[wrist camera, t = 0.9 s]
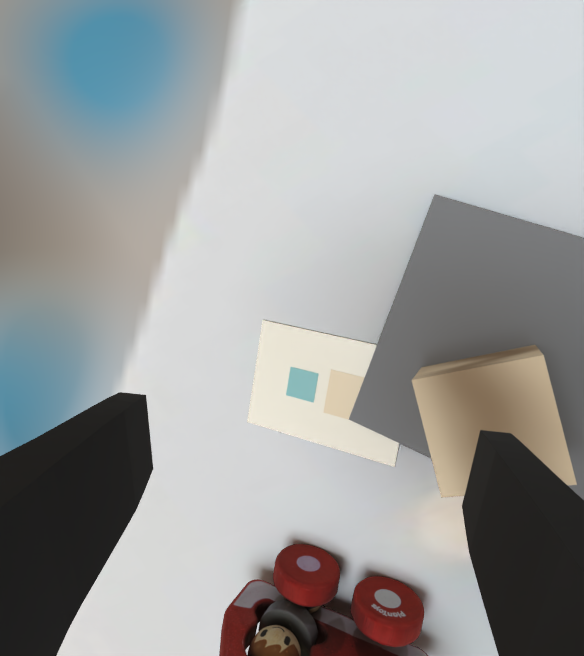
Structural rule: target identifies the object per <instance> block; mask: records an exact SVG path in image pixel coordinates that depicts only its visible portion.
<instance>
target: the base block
mask: <svg viewBox="0 0 584 656" xmlns="http://www.w3.org/2000/svg"><path fill="white" fill-rule="evenodd" d="M412 384H413V388H414V391H415V395H416V399H417V403H418V407H419V411H420V415H421V419H422V423H423V427H424V431H425V435H426V439H427V443H428V447H429V451H430V454H431V458H432V462H433V466H434V470H435V474H436V478H437V482H438V486H439V490H440V494H441V498H443V497H454V496H464V495H465V492H466V488H467V483H468V479H469V475H470V471H471V467H472V462H473V458H474V454H475V450H476V446H477V442H478V437H479V433H480V430H486V431H495V432H505V433H511V434H513V435H514V436H515V437H516V438H517V439H518V440H519V441H521V442H522V443H523V444H524V445H525V446H526V447H527V448H528V449H529V450H530V451H531V452H532V453H533V454H535V455H536V456H537V457H538V458H539V459H540V460H541V461H542V462H543V463H544V464H545V465H546V466H547V467H548V468H549V469H550V470H551V471H553V472H554V473H555V474H556V475H557V476H558V477H559V478H560V479H561V480H562V481H563V482H564V483H565V484H566V485H568V486H569V485H577V483H576V479H575V475H574V471H573V467H572V464H571V460H570V456H569V452H568V448H567V444H566V440H565V436H564V432H563V428H562V425H561V421H560V417H559V413H558V409H557V405H556V401H555V397H554V393H553V389H552V386H551V382H550V378H549V374H548V370H547V366H546V362H545V358H544V355H543V354H542V352H541V351H540V350H539V349H538V348H537V346H536V345H531V346H526V347H521V348H516V349H511V350H506V351H501V352H496V353H491V354H486V355H481V356H476V357H471V358H466V359H461V360H456V361H451V362H446V363H441V364H436V365H431V366H426V367H421V369H420V370H419V371H418V373H417V374H416V375H415V376H414V378H413V379H412Z"/></svg>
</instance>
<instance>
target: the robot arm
mask: <svg viewBox="0 0 584 656" xmlns="http://www.w3.org/2000/svg"><path fill="white" fill-rule="evenodd" d="M152 470H153V463H152V452H151V442H150V432H149V422H148V411H147V401H146V395H140V394H130V393H121V392H120V393H117V394H115V395H113V396H111V397H109V398H107V399H105V400H103V401H102V402H100V403H98V404H96V405H94V406H92V407H90V408H89V409H87V410H85V411H83V412H82V413H80V414H78V415H76V416H75V417H73V418H71V419H69V420H68V421H66V422H64V423H62V424H60V425H58V426H57V427H55V428H53V429H51V430H49V431H48V432H46V433H44V434H43V435H40V436H39V437H37V438H35V439H33V440H31V441H29V442H27V443H26V444H23V445H22V446H19V447H17V448H15V449H13V450H12V451H10V452H8V453H6V454H4V455H2V456H0V656H56V655H57V653H58V651H59V648H60V646H61V644H62V642H63V640H64V638H65V635H66V633H67V631H68V629H69V627H70V625H71V623H72V621H73V620H74V618H75V616H76V614H77V612H78V610H79V608H80V606H81V604H82V603H83V601H84V599H85V598H86V596H87V594H88V592H89V591H90V589H91V587H92V586H93V584H94V582H95V580H96V579H97V577H98V575H99V574H100V572H101V570H102V568H103V567H104V565H105V563H106V562H107V560H108V558H109V556H110V555H111V553H112V551H113V550H114V548H115V546H116V544H117V543H118V541H119V539H120V537H121V536H122V534H123V532H124V530H125V529H126V527H127V525H128V523H129V522H130V520H131V518H132V516H133V514H134V513H135V511H136V509H137V507H138V504H139V502H140V500H141V497H142V495H143V493H144V490H145V488H146V485H147V483H148V480H149V478H150V475H151V473H152ZM462 508H463V515H464V522H465V529H466V535H467V541H468V547H469V553H470V557H471V560H472V564H473V568H474V571H475V575H476V578H477V582H478V585H479V589H480V592H481V596H482V599H483V603H484V606H485V610H486V613H487V617H488V620H489V623H490V627H491V630H492V634H493V637H494V641H495V644H496V648H497V651H498V654H499V656H584V500H583V499H582V498H581V497H580V496H578V495H577V494H576V493H575V492H574V491H573V490H572V489H571V488H570V487H569V486H568V485H566V484H565V483H564V482H563V481H562V480H561V479H560V478H559V477H558V476H557V475H556V474H555V473H554V472H553V471H551V470H550V469H549V468H548V467H547V466H546V465H545V464H544V463H543V462H542V461H541V460H540V459H539V458H538V457H537V456H536V455H535V454H533V453H532V452H531V451H530V450H529V449H528V448H527V447H526V446H525V445H524V444H523V443H522V442H521V441H519V440H518V439H517V438H516V437H515V436H514V435H513V434H511V433H505V432H495V431H486V430H480V433H479V437H478V442H477V446H476V450H475V454H474V458H473V462H472V467H471V471H470V475H469V479H468V483H467V488H466V492H465V496H464V500H463V504H462Z"/></svg>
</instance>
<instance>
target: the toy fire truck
mask: <svg viewBox="0 0 584 656" xmlns="http://www.w3.org/2000/svg"><path fill="white" fill-rule="evenodd" d="M339 579H340V570H339V566H338V563H337V562H336V561H335V559H334V558H333V557H332V556H331V555H330V554H329V553H327V552H326V551H324V550H322V549H320V548H318V547H315V546H311V545H305V544H294V545H291V546H288V547H286V548H284V549H283V550H282V551H281V552H280V553H279V554H278V556H277V558H276V561H275V567H274V573H273V580H274V584H275V585H272V584H270V583H268V582H266V581H263V580H252V581H250V582H248V583H247V584H246V586H245V587H244V588H243V589H242V590H241V592H240V593H239V594H238V595H237V597H236V598H235V599H234V600H233V602H232V603H231V604H230V605H229V607H228V608H227V610H226V611H225V614H224V619H223V624H222V631H221V643H220V655H219V656H428V655H427V654H426V653H425V652H424V651H423V650H421V649H420V648H418V647H416V646H413V645H411V644H410V643H412V642H414V641H415V640H416V639H417V638H418V637H419V635H420V632H421V628H422V623H423V618H424V607H423V604H422V602H421V600H420V598H419V597H418V596H417V594H416V593H415V592H414V591H413V590H412V589H410V588H409V587H408V586H406V585H404V584H403V583H401V582H399V581H397V580H394V579H390V578H387V577H381V576H374V577H368V578H366V579H364V580H362V581H360V582H359V583H358V584H357V585H356V587H355V590H354V594H353V599H352V604H351V614H352V617H353V619H351V618H349V617H347V616H345V615H342V614H340V613H338V612H335V611H333V610H331V609H328V608H325V607H323V606H322V605H324V604H326V603H329V602H330V601H331V600H332V599H333V598H334V596H335V595H336V594H337V590H338V584H339ZM259 622H260V625H259V632H258V633H257V634H256V629H257V624H258V623H259ZM255 634H256V635H255ZM249 645H250V647H249V650H248V655H247V654H246V652H245V650H246V648H247V647H248V646H249Z"/></svg>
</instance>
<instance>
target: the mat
mask: <svg viewBox="0 0 584 656" xmlns="http://www.w3.org/2000/svg"><path fill="white" fill-rule="evenodd" d="M531 345H536V346H537V348H538V349H539V350H540V351H541V352H542V354H543V355H544V358H545V362H546V366H547V370H548V374H549V378H550V382H551V386H552V389H553V393H554V397H555V401H556V405H557V409H558V413H559V417H560V421H561V425H562V428H563V432H564V436H565V440H566V444H567V448H568V452H569V456H570V460H571V464H572V467H573V471H574V475H575V479H576V483H577V485H569V487H570V488H571V489H572V490H573V491H574V492H575V493H576V494H577V495H578V496H580V497H581V498H582V499H583V500H584V238H582V237H579V236H575V235H572V234H568V233H565V232H562V231H558V230H555V229H551V228H548V227H544V226H541V225H538V224H534V223H531V222H527V221H524V220H520V219H517V218H514V217H510V216H507V215H503V214H500V213H496V212H493V211H489V210H486V209H483V208H479V207H476V206H472V205H469V204H465V203H462V202H459V201H455V200H452V199H448V198H445V197H441V196H438V195H434V197H433V200H432V203H431V205H430V208H429V211H428V213H427V216H426V218H425V221H424V224H423V226H422V229H421V231H420V234H419V237H418V239H417V242H416V245H415V247H414V250H413V252H412V255H411V258H410V260H409V263H408V265H407V268H406V271H405V273H404V276H403V279H402V281H401V284H400V286H399V289H398V292H397V294H396V297H395V299H394V302H393V305H392V307H391V310H390V312H389V315H388V318H387V320H386V323H385V326H384V328H383V331H382V333H381V336H380V339H379V341H378V344H377V346H376V349H375V352H374V354H373V357H372V360H371V362H370V365H369V367H368V370H367V373H366V375H365V378H364V380H363V383H362V386H361V388H360V391H359V394H358V396H357V399H356V401H355V404H354V407H353V409H352V412H351V414H350V417H349V420H351V421H353V422H355V423H357V424H359V425H361V426H364V427H366V428H368V429H370V430H372V431H374V432H376V433H378V434H381V435H383V436H385V437H387V438H389V439H391V440H393V441H396V442H398V443H400V444H402V445H404V446H406V447H408V448H410V449H413V450H415V451H417V452H419V453H421V454H423V455H425V456H427V457H430V458H431V454H430V451H429V447H428V443H427V439H426V435H425V431H424V427H423V423H422V419H421V415H420V411H419V407H418V403H417V399H416V395H415V391H414V388H413V384H412V379H413V378H414V376H415V375H416V374H417V373H418V371H419V370H420V369H421V367H426V366H431V365H436V364H441V363H446V362H451V361H456V360H461V359H466V358H471V357H476V356H481V355H486V354H491V353H496V352H501V351H506V350H511V349H516V348H521V347H526V346H531Z"/></svg>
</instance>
